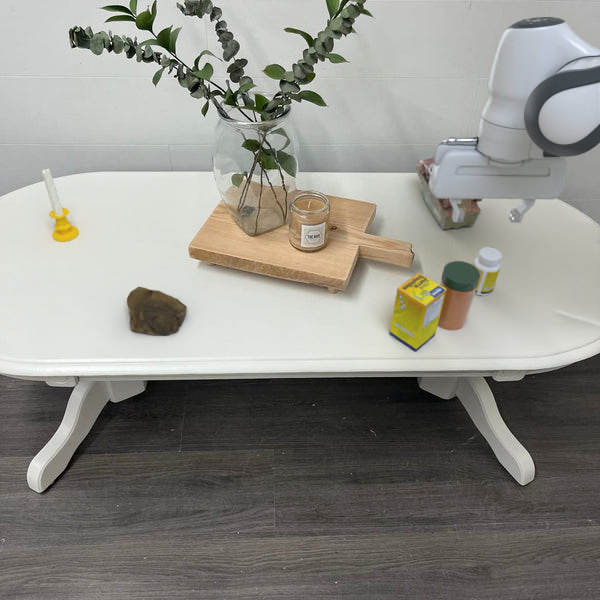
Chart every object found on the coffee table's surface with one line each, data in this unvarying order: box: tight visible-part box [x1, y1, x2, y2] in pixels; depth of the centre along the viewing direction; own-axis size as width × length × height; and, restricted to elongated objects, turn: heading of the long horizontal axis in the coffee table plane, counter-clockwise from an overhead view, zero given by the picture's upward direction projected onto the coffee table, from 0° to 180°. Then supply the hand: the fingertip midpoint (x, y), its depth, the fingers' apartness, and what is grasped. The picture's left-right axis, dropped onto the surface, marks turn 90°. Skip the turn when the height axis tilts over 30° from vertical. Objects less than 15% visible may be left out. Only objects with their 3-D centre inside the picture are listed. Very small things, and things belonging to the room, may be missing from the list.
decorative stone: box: [126, 286, 188, 337], centre depth 101 cm, size 10×9×4 cm
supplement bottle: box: [472, 246, 503, 297], centre depth 107 cm, size 5×5×8 cm
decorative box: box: [415, 156, 483, 230], centre depth 127 cm, size 13×20×10 cm, turn 5°
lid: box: [441, 260, 480, 291], centre depth 97 cm, size 6×6×2 cm
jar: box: [437, 277, 477, 331], centre depth 100 cm, size 6×6×10 cm
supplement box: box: [389, 272, 446, 352], centre depth 97 cm, size 6×6×11 cm
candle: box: [41, 168, 80, 243], centre depth 114 cm, size 5×5×16 cm
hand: (486, 220), depth 92 cm, fingers open, 8 cm apart
